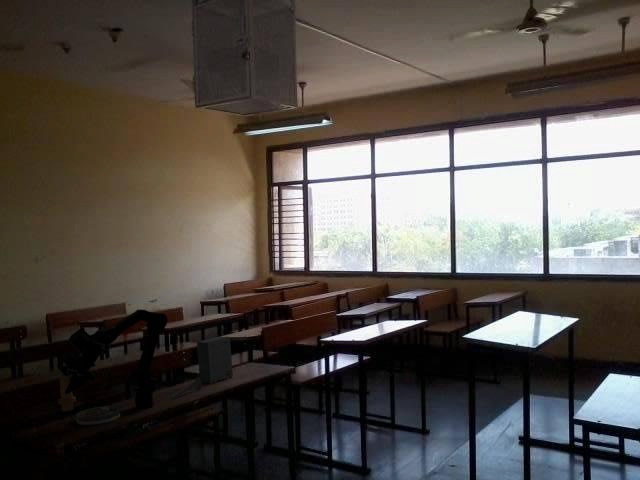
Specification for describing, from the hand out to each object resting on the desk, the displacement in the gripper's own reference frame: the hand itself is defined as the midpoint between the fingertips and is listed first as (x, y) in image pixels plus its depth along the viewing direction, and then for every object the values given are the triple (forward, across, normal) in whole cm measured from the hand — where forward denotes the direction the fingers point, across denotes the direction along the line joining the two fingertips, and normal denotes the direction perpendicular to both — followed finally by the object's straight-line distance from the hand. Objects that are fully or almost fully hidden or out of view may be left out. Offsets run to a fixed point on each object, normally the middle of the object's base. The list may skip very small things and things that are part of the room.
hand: (62, 393), depth 226 cm
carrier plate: (0, -1, +19) cm, 19 cm away
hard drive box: (-48, -12, +68) cm, 84 cm away
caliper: (-29, -1, +49) cm, 57 cm away
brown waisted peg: (+4, 0, +6) cm, 7 cm away
